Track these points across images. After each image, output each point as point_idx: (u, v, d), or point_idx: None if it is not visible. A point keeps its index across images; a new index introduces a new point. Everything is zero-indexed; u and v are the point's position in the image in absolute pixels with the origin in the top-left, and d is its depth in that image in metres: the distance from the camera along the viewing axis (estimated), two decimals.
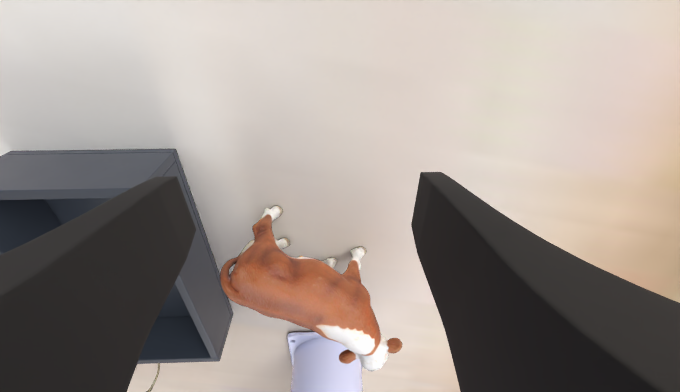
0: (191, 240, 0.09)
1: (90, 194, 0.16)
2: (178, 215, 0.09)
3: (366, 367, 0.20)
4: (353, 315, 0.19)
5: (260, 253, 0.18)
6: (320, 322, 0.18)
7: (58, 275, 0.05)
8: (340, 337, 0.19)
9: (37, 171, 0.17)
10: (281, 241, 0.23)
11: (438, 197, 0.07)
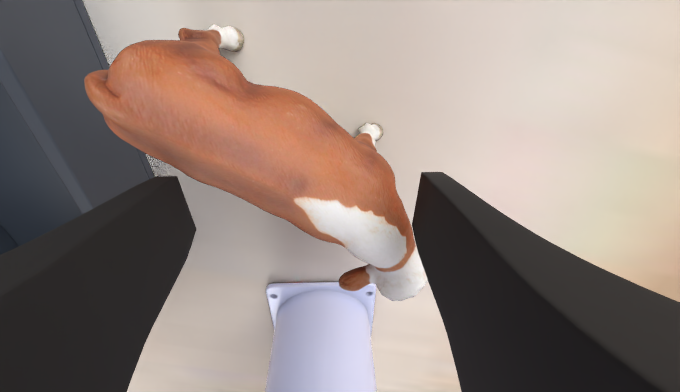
0: (191, 240, 0.09)
1: None
2: (178, 215, 0.09)
3: (390, 293, 0.11)
4: (367, 185, 0.10)
5: (179, 43, 0.09)
6: (301, 192, 0.09)
7: (58, 275, 0.05)
8: (342, 227, 0.10)
9: None
10: None
11: (439, 197, 0.07)
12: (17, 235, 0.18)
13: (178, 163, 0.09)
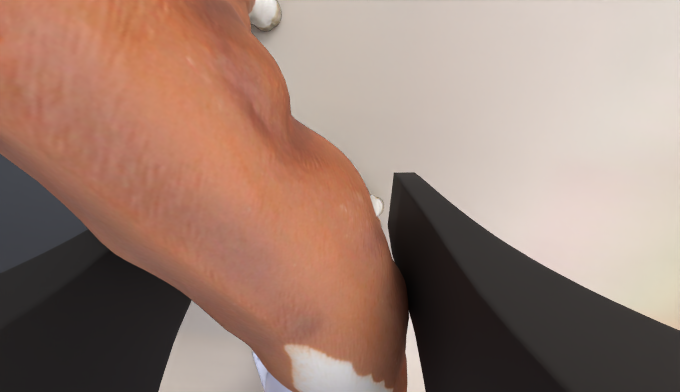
0: None
1: None
2: None
3: None
4: (394, 341, 0.06)
5: None
6: (305, 337, 0.05)
7: (100, 274, 0.05)
8: None
9: None
10: None
11: (407, 198, 0.07)
12: None
13: (89, 222, 0.04)
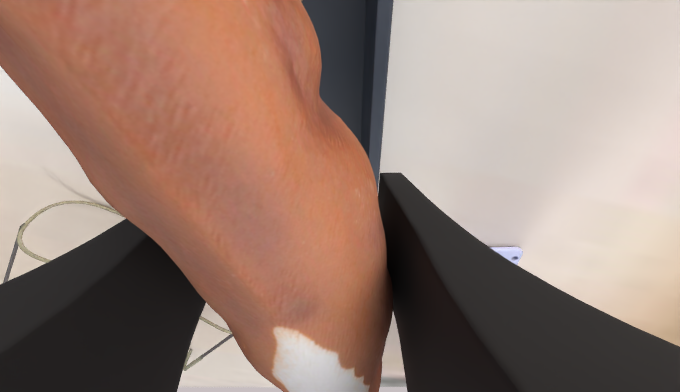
0: None
1: None
2: None
3: None
4: (379, 337, 0.06)
5: None
6: (297, 322, 0.05)
7: (125, 273, 0.05)
8: (314, 389, 0.06)
9: None
10: None
11: (391, 198, 0.07)
12: None
13: (89, 159, 0.03)
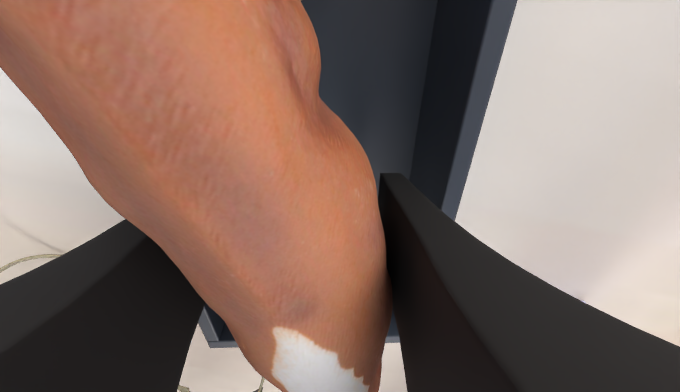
0: None
1: None
2: None
3: None
4: (378, 337, 0.06)
5: None
6: (297, 321, 0.05)
7: (125, 274, 0.05)
8: (313, 390, 0.06)
9: None
10: None
11: (391, 198, 0.07)
12: None
13: (87, 159, 0.03)
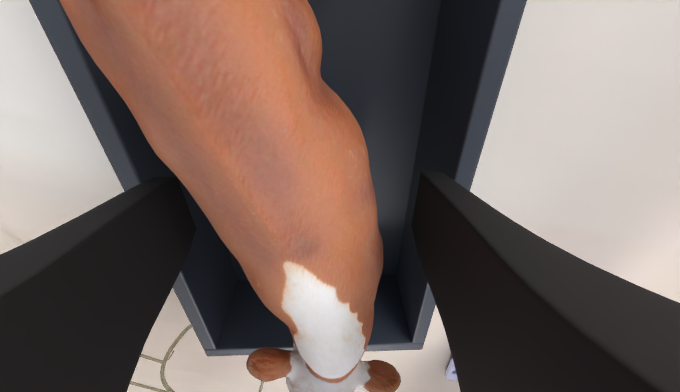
0: (191, 240, 0.09)
1: None
2: (178, 215, 0.09)
3: None
4: (370, 281, 0.07)
5: None
6: (302, 257, 0.06)
7: (58, 275, 0.05)
8: (316, 320, 0.07)
9: None
10: None
11: (439, 197, 0.07)
12: None
13: (149, 116, 0.05)
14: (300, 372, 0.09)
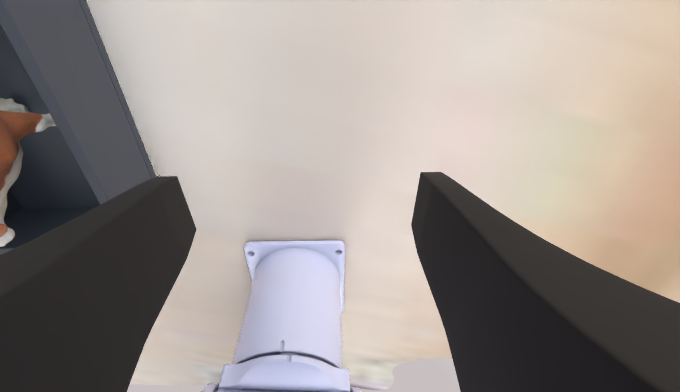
0: (191, 240, 0.09)
1: None
2: (178, 215, 0.09)
3: None
4: None
5: None
6: None
7: (58, 275, 0.05)
8: None
9: None
10: None
11: (439, 197, 0.07)
12: (15, 189, 0.20)
13: None
14: None
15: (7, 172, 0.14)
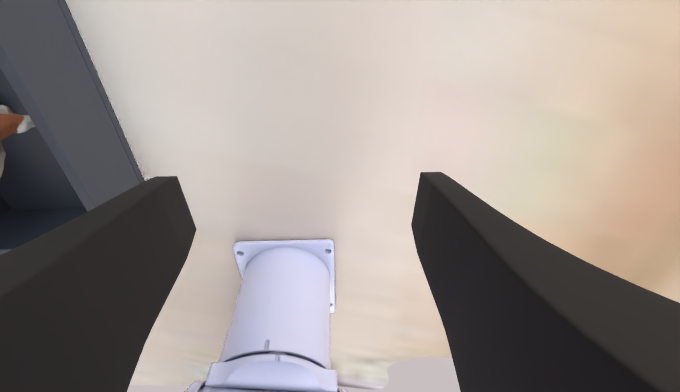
0: (191, 240, 0.09)
1: None
2: (178, 215, 0.09)
3: None
4: None
5: None
6: None
7: (58, 275, 0.05)
8: None
9: None
10: None
11: (439, 197, 0.07)
12: (2, 190, 0.20)
13: None
14: None
15: None
